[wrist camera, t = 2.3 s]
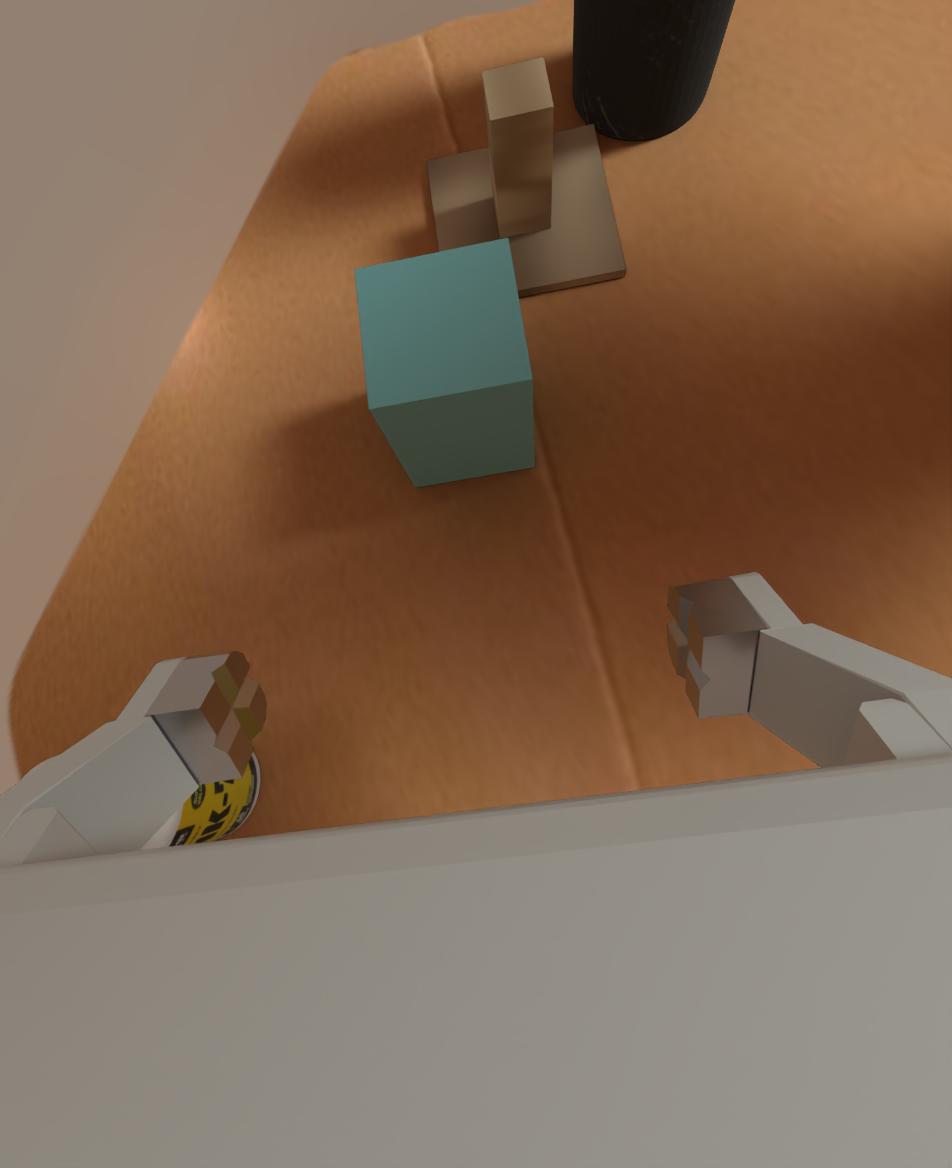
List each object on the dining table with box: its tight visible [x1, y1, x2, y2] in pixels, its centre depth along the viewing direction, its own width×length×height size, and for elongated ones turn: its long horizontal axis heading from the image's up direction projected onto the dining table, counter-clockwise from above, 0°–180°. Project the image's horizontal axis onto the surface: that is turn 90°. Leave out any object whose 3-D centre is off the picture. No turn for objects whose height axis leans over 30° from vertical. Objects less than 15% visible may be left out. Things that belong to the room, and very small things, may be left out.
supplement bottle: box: [20, 752, 261, 850], centre depth 21 cm, size 5×5×8 cm
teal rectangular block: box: [354, 238, 535, 488], centre depth 24 cm, size 6×6×8 cm
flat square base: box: [426, 57, 626, 297], centre depth 26 cm, size 9×9×6 cm
